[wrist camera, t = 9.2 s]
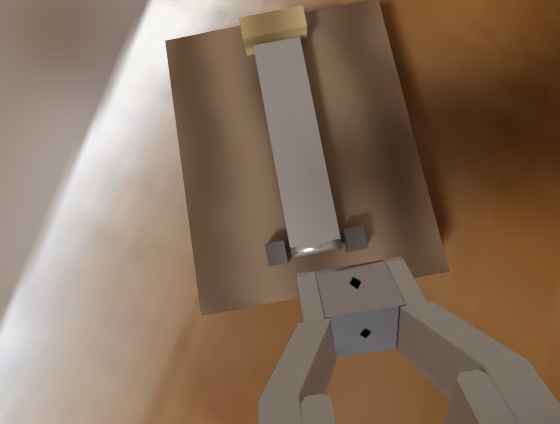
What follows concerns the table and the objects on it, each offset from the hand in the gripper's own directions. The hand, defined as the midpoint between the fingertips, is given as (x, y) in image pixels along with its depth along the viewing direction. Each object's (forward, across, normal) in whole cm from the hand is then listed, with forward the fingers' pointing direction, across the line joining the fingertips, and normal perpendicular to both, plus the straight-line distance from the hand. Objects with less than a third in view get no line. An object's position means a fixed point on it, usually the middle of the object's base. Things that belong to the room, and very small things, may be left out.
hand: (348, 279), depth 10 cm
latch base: (+17, 0, +5) cm, 18 cm away
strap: (+14, 0, +2) cm, 14 cm away
